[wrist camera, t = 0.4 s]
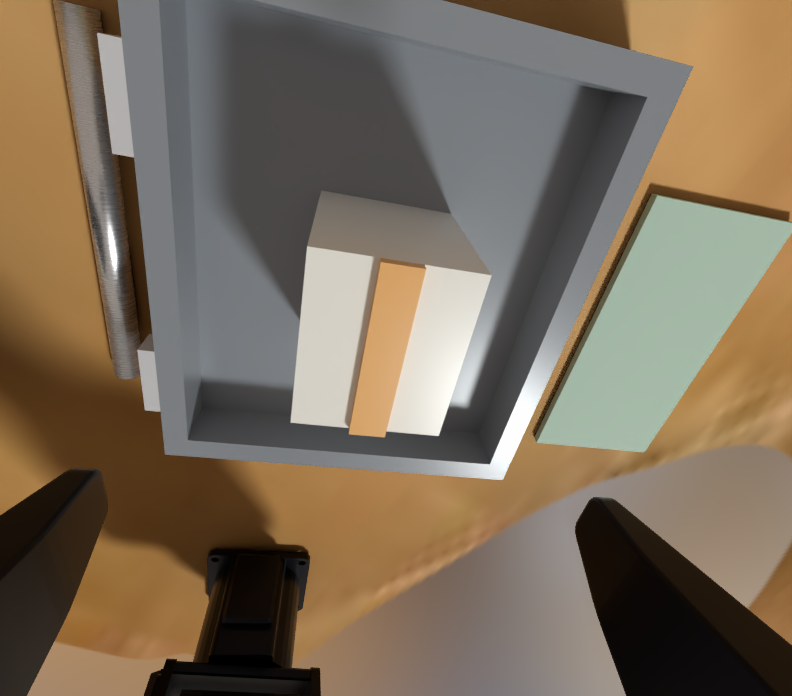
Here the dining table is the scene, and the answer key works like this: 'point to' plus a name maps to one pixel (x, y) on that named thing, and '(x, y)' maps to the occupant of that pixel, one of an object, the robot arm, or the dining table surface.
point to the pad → (659, 321)
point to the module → (384, 316)
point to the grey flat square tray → (367, 178)
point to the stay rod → (100, 180)
